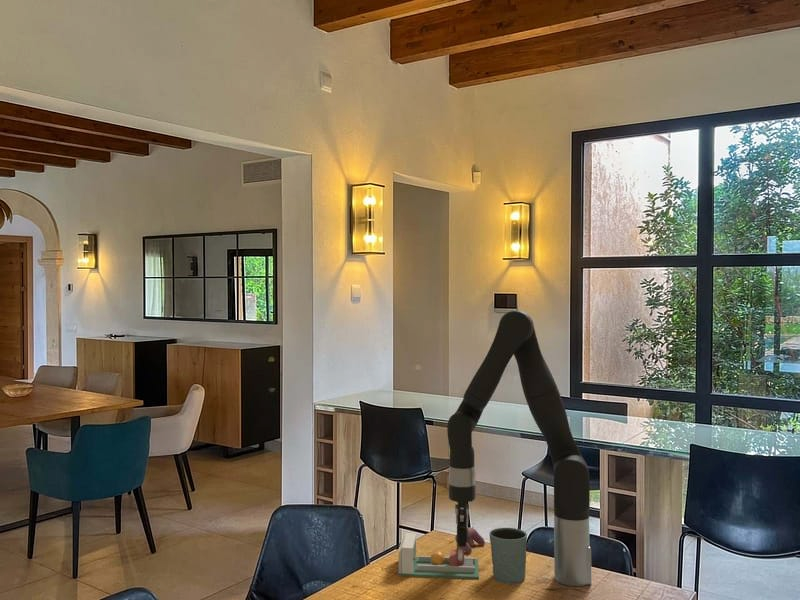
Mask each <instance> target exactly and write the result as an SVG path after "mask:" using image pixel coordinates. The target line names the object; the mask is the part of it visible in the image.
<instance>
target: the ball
mask: <svg viewBox="0 0 800 600" xmlns="http://www.w3.org/2000/svg"><path fill="white" fill-rule="evenodd" d="M430 556H431V558H430V560H431V563H432V564H433V565H443V563H444V560H445V558H444V557H445V555H444V554H443V553H442V552H441V551H438V550H437V551H434V552H432V553H431V555H430Z"/></svg>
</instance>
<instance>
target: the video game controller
mask: <svg viewBox="0 0 800 600" xmlns="http://www.w3.org/2000/svg"><path fill="white" fill-rule="evenodd" d="M454 538H455V541H456V543H457V534H455V537H454ZM473 540H474V541H473ZM475 543H476V544H478V545H479V546H482V547H484V546H485V544H486V541H485V538H483V537H482V535H480V534H479V532H478V531H477V530H476V529H475V528H474V527H468V543H466V546H465V547H464V553H466V554H468V553H469V555H470V554H471V553H472V551H473V549H472V547H473V546H475Z"/></svg>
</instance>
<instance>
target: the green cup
mask: <svg viewBox="0 0 800 600" xmlns="http://www.w3.org/2000/svg"><path fill="white" fill-rule="evenodd" d="M527 538H528V534H527V532H525V531H524V530H522V529H519V528H515V527H500V528H499V527H498V528H494V529H492V530H490V531H489V541H490V550H491V554H490V555H491V563H492V575H493V579H494V580H495V581H497V582H499V583H502V584H505V585H506V584H507V585H508V584H509V585H514V584H521V583H522V582H525V580H526V571H527V569H526V567H527V565H526V563H527V543H528V542H527V541H528V539H527Z"/></svg>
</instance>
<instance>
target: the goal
mask: <svg viewBox="0 0 800 600" xmlns="http://www.w3.org/2000/svg"><path fill="white" fill-rule="evenodd" d="M399 545H400V546H399V548H398V572H399V573H404V574H413V559H416V557H417V532H405V536H404V535H403V536H402V539H401V542H400V544H399Z"/></svg>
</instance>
